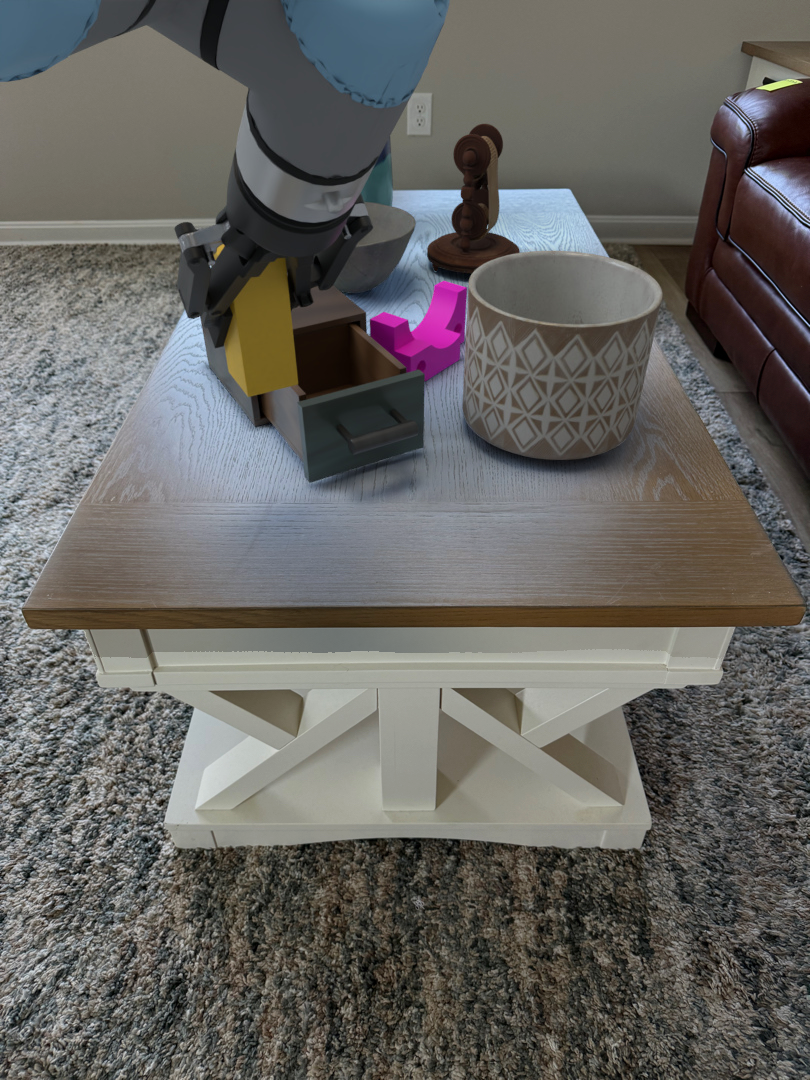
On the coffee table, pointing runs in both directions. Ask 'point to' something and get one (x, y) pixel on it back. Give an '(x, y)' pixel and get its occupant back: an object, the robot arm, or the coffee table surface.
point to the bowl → (377, 249)
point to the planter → (557, 352)
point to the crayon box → (262, 333)
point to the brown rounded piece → (474, 207)
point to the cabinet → (319, 315)
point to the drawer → (347, 403)
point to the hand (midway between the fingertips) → (243, 325)
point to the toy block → (426, 332)
